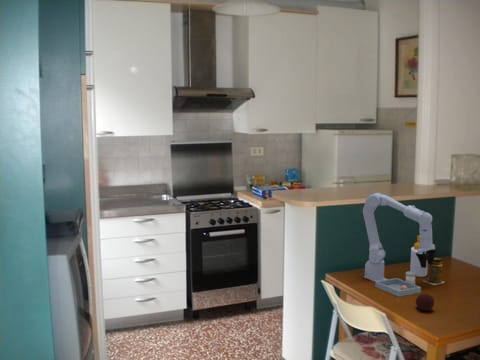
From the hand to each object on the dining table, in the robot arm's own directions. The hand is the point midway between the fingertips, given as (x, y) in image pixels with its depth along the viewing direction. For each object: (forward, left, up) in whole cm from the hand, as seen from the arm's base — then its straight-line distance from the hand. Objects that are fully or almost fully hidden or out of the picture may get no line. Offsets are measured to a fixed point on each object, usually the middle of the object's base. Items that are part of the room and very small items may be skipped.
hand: (427, 265), depth 239 cm
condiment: (-4, +10, -11) cm, 15 cm away
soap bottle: (-18, +14, -11) cm, 25 cm away
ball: (+2, -16, -10) cm, 19 cm away
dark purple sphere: (+22, -24, -11) cm, 35 cm away
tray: (-2, -16, -11) cm, 20 cm away
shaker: (-5, -5, -11) cm, 13 cm away
